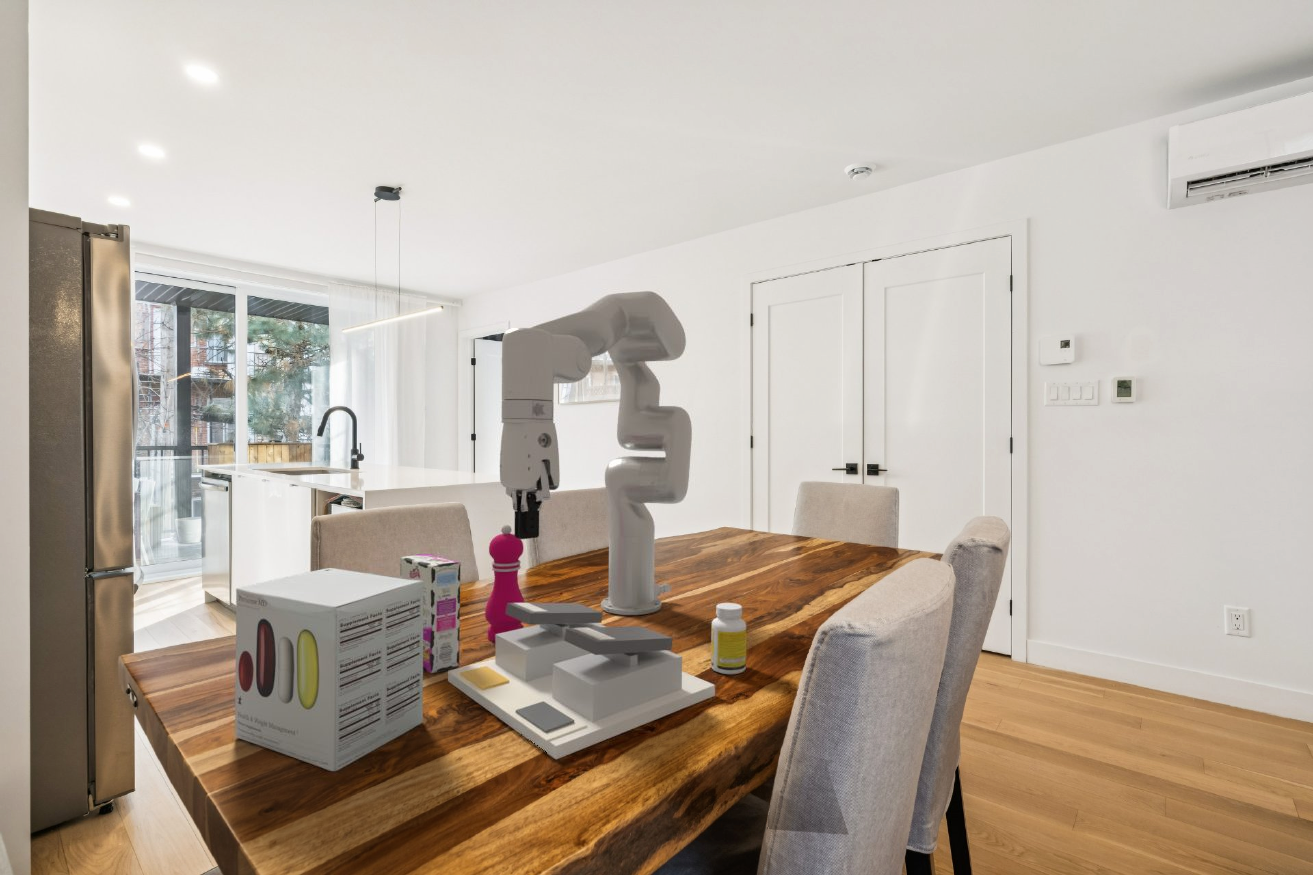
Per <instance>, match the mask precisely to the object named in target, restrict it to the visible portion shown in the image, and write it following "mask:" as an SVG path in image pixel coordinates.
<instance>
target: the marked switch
mask: <svg viewBox="0 0 1313 875" xmlns="http://www.w3.org/2000/svg"><path fill="white" fill-rule="evenodd" d="M505 614H507V615H509V616H511V617H514V618H516V619H518V620H520V621H522V622H523V623H524V624H527V625H528V626H529V625H531V626H534V625H539V624H575V623H598V624H602V622H603V621H602V620H603V614H604V612H602V611H600V610H597V609H594V608H593V607H589V606H586V605H583V604H581V603H579V602H525V603H507V607H506V613H505ZM522 622H521V623H522Z"/></svg>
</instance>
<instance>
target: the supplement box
mask: <svg viewBox="0 0 1313 875" xmlns="http://www.w3.org/2000/svg"><path fill="white" fill-rule="evenodd" d="M423 585H424V583H423V581H421V580H413V579H407V578H400V576H391V575H384V574H380V573H379V574H378V573H371V572H363V571H355V570H349V569H343V568H342V569H341V568H333V567H328V568H321V569H317V570H313V571H308V572H303V573H297V574H293V575H289V576H284V577H280V578H276V579H275V578H274V579H272V580H271V579H270V580H267V581H262V582H258V583H254V584H248V585H246V586H245V585H244V586H241V587H237V588H236V589H235V592H236V593H235V597H236V598H235V599H236V600H235V601H236V602H235V610H236V611H235V681H234V682H235V687H234V688H235V690H234V692H235V696H234V698H235V699H234V703H235V704H234V705H235V706H234V715H235V716H234V717H235V719H234V720H235V722H234V723H235V724H234V737H235V739H240V740H243V741H246V742H249V743H252V744H253V745H257V746H260V747H263V748H266V749H269V750H271V751H274V752H277V753H280V754H283V755H286V756H288V757H292V758H294V759H297V760H300V761H301V762H305V763H309V764H311V765H313V766H317V767H319V768H322V769H324V770H326V771H329V772H336V771H339V770H341V769H342V768H344V767H346V766H348V765H350V764H351V763H353V762H355V761H357V760H359V759H360V758H362V757H364V756H366V755H367V754H369V753H371V752H373V751H375V750H377V749H379V748H381V747H382V746H384V745H386V744H387V743H389V742H391V741H393V740H394V739H396V738H398V737H400V736H402V735H403V734H405V733H407V732H409V731H410V730H413V729H414V728H416V727H417V726H419V725H421V724H423V723H424V719H423V718H424V714H423V711H424V705H423V704H424V703H423V702H424V698H423V697H424V691H423V690H424V669H423Z"/></svg>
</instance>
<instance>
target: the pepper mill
mask: <svg viewBox="0 0 1313 875" xmlns="http://www.w3.org/2000/svg"><path fill="white" fill-rule="evenodd" d="M500 531H501V533H500V534H498V535H496V536H494V537H493V538H492V539H491V541H490V543H489V546H488V553H489V555H490V557H491V558H492V559H493V561H492V562H491V565H492V566H491V570H492V571H493V576H494V579H493V580H494V582H493V588H492V591H491V593H490V596H489V598H488V600H487V602H486V606H485V609H484V610H485V611H484V617H485V620H486V621H487V623H488V624H489V626H488V628H487V639H488V640H489V641H491V642H493V643H495V634H499V633H504V632H508V631H512V630H517V629H521V628H525V625H523V624H522V621H520V620H518V619H516V618H514V617H511V616H509V615H507V614H505V613H506V607H507V603H526V601H525V599H524V597H523V595H522V592H521V588H520V586H519V580H518V579H519V578H518V574H519V570H520V569H521V560H519V559H520V557H521V556H522V555H523V553H524V543H523V539H519V538H515V536H514V533H512V527H511V526H510V525H508V524H505V525H503V526H502V527H501V530H500Z"/></svg>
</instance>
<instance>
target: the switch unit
mask: <svg viewBox="0 0 1313 875" xmlns="http://www.w3.org/2000/svg"><path fill="white" fill-rule="evenodd" d="M593 627H607V626H605V625H603V624H602V623H575V624H536V625H531V626H526V627H524V628H521V629H517V630H512V631H508V632H504V633H499V634H495V642H494V643H495V644H494V645H495V652H494V653H495V658H493V659H490V660H489V659H488V660H486V661H482V662H477V663H473V664H469V665H466V666H462V667H457V668H455V669H454V668H453V669H449V670H447V681H448V682H449V683H450V684H451V685H453V686H454V687H456V688H457V689H458V690H460V691H461V692H462V693H463V694H465V695H467V697H469V698H470V699H472V700H473V701H475V702H476V703H478V705H480V706H481V707H483V708H485V710H487V711H489V712H490V713H491V714H493V715H494V716H495V717H497V718H498V719H499V720H500V721H502V722H504V723H505V724H506V725H507V726H509V727H510V728H512V729H513V730H514V731H516V732H517V733H519V734H520V735H521V734H522V735H521V736H523V737H524V738H525V739H527V740H528V739H529V740H528V741H530V740H531V741H532V742H534V743H535V744H534V743H533V744H534V745H535V746H537V745H538V746H537V747H538V748H539V747H540V748H539V749H541V748H542V749H543V750H545V751H546V752H547V755H548V756H550V757H551V758H553V759H555V760H559V759H561V758H563V757H566V756H567V755H571V754H573V753H576V752H578V751H581V750H583V749H587V748H588V747H590V746H593V745H596V744H598V743H600V742H603V741H605V740H607V739H611V738H612V737H613V738H614V737H615V736H618V735H620V734H622V733H625V732H629V731H631V730H632V729H637V728H638V727H640V726H643V725H645V724H648V723H651V722H653V721H655V720H659V719H661V718H663V717H666V716H668V715H670V714H673V713H675V712H678V711H680V710H682V709H685V708H688V707H690V706H693V705H695V704H697V703H701V702H703V701H705V700H707V699H710V698H713V697H715V696H716V685H715V684H713V683H712V682H709V681H706V680H704V679H701V678H700V677H697V676H694V675H693V674H689V673H688V672H684V671H683V656H682V655H680V654H677V653H674V652H672V651H671V650H663V651H649V652H634V653H619V654H605V655H594V654H592V653H590V652H588V651H586V650H583V649H581V648H579V647H577V646H575V645H573V644H570V643H568V642H566V641H564V639H565V632H566V628H593ZM531 741H530V742H531ZM532 742H531V743H532ZM542 749H541V750H542ZM543 750H542V751H543ZM545 751H544V752H545ZM546 752H545V753H546Z"/></svg>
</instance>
